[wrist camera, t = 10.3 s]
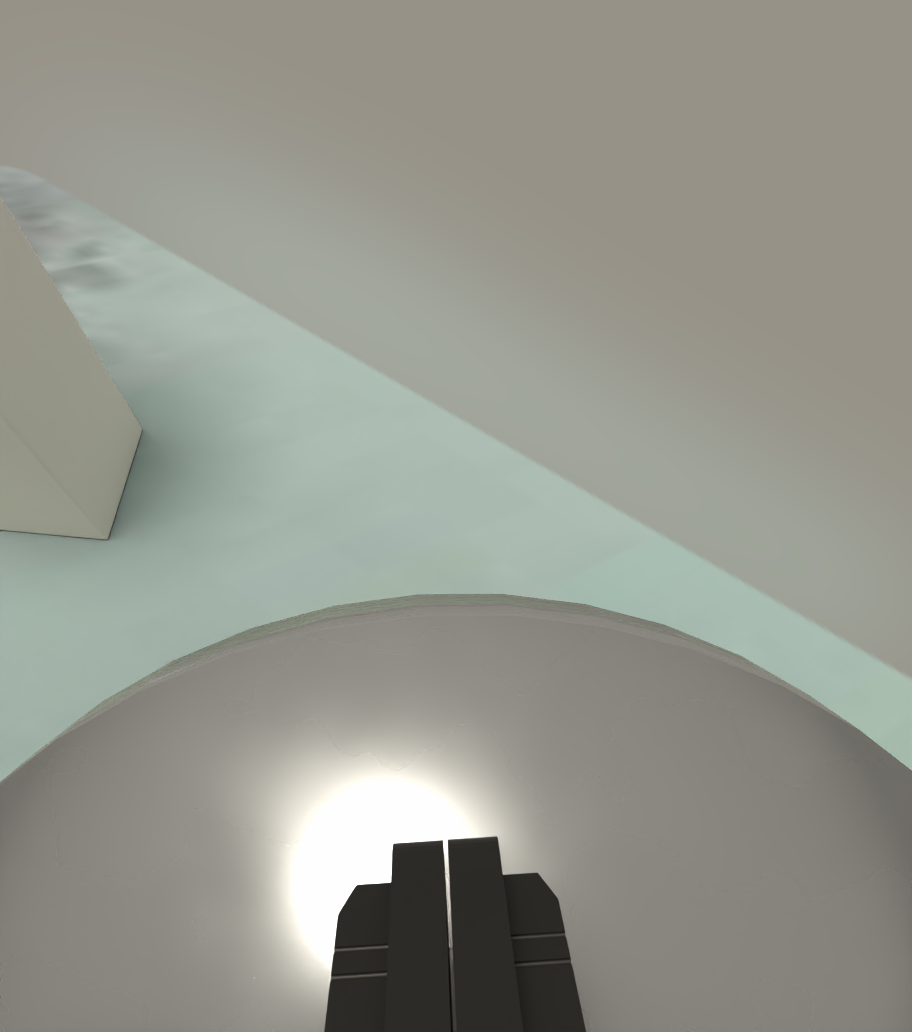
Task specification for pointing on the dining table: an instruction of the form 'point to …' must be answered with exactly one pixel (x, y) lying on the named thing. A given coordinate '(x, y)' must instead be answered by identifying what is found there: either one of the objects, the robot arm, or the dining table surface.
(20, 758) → the dining table surface
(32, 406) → the milk
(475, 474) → the dining table surface
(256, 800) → the lid
